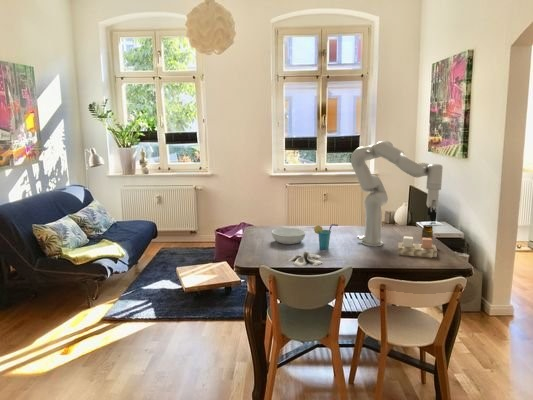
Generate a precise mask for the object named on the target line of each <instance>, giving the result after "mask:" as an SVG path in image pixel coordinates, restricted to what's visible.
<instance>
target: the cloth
mask: <svg viewBox="0 0 533 400" xmlns="http://www.w3.org/2000/svg"><path fill="white" fill-rule="evenodd" d="M320 258H322V256H321V255H319V254H315V253H313V254H311V253H310V252H309V251H308V250H305V251H304V252H303V253H302V254H295V255H294V256H293V257H292V258H290V259H289V260H288V262H293V261H294V263H293V265H295V266H298V267H303V266H305V265H307V264H308V263H310V264H311V265H313V266H314V265H315V266H318V264H319V265H321V263H322V264H323V263H324V262H322V261H321V260H318V259H320Z"/></svg>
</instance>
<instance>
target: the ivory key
mask: <svg viewBox="0 0 533 400" xmlns="http://www.w3.org/2000/svg"><path fill="white" fill-rule="evenodd" d="M402 243H403V247H413V243H414V237H413V236H407V235H404V236H403V241H402Z"/></svg>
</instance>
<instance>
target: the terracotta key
mask: <svg viewBox="0 0 533 400" xmlns="http://www.w3.org/2000/svg"><path fill="white" fill-rule="evenodd" d="M421 242H422V247H421V248H426V249H432V244H433V238H432V239H431V238H422V237H421Z"/></svg>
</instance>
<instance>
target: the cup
mask: <svg viewBox="0 0 533 400" xmlns="http://www.w3.org/2000/svg"><path fill="white" fill-rule="evenodd" d="M332 226H335V227H338V226H339V225H338V224H336V223H331V224H330V227H329V229H323V227H322V226H321V225H316V226H315V227H314V229H313V231H314V233H315V234H317V235H318V243H319V244H318V245H319V247H318V248H319V250H321V251H328V250H329V249H330V248H329V247H330V240H331V239H330V238H331V232H332V231H331V230H332Z"/></svg>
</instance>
